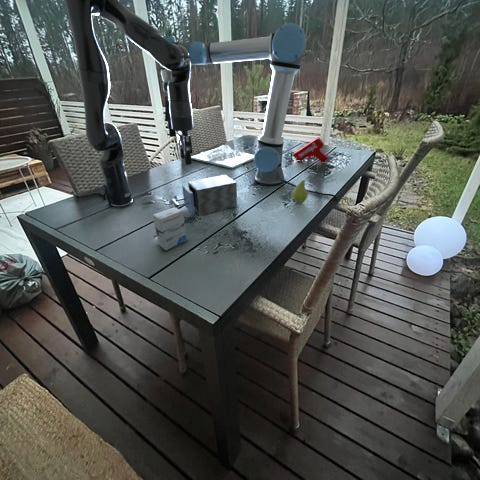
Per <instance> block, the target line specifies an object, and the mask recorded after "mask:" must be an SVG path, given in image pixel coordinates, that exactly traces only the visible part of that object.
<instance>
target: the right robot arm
mask: <svg viewBox="0 0 480 480" xmlns="http://www.w3.org/2000/svg"><path fill="white" fill-rule="evenodd" d="M162 36H163V38H165V39H166V40H167V41H169V42H170V43H172V44H176V45H181V46H183V47H185V48H186V50H187V51H188V53H189V56H190V63H191V66H192V65H193V66H194V65H195V66H206V65H212V64H224V63H234V62H247V61H258V60H270V63H269V66H270V68H271V70H272V74H271V81H270V85H269V86H270V87H269V92H268V99H267V104H266V111H265V116H264V122H263V129H262V134H260V135H259V136H258V138H257V143H256V149H255V152H254V154H253V155H254V159H253V162H254V165H255V167H256V168H257V171H256V174H255V177H254V181H255V183H258V184H259V185H262V186H263V185H264V186H279V185H281V184H283V183H285V184H287V185H290V186H291V187H294V188H296V187H297V186H298V185H296V184H294V183H291V182H289V181H287V180H285V175H284V172H283V171H284V170H283V167H282V165H283V154H284V153H283V152H284V144H285V141H284V139H285V138H284V136H283V132H284V127H285V122H286V118H287V112H288V109H289V103H290V99H291V93H292V89H293V85H294V79H295V76H296V74H297V73H299V71H300V70H301V66H302V61H303V56H304V52H305V49H306V43H307V41H306V40H307V37H306V33H305V30H304V29H303V28H302V26H301V25H299V24H298V23H294V22H286V23H284V24H282V25H281V26H279V27H278V29H277V30H276V31H275V32H271V33H270V34H269V36H262V37H253V38H246V39H236V40H225V41H217V42H207V43H206V42H205V43H204V42H202V41H185V42H184V41H183V42H177V41H176V37H175V36H172V35H171V36H169V35H167V36H165V35H162ZM159 65H160V64H159ZM160 75H161V80H162V81H163V82H162V87H163V88H162V89H163V92H164V93H167V94H166V95H164V102H165V103H164V105H165V106H164V121H165V122H167V125H168V126H167V127H168V132H169V137H171V138H177V132H176V131H175V130H173V129H172V124H171V116H170V106H169V105H170V103H169V94H168V82H169V81H170V80H171V71H170V70H168V69H166V68H164V67H163V66H162V65H160ZM305 189H306V190H307V192H308V193H312V194H317V195H322V196H327V197H333V198H334V199H335V200H337V201H338V200H339V198H338V197H337V196H336V195H335V194H333V193H325V192H320V191H315V190H311V189H307V188H305ZM323 193H324V194H323Z"/></svg>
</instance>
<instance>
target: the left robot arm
mask: <svg viewBox="0 0 480 480" xmlns="http://www.w3.org/2000/svg"><path fill="white" fill-rule="evenodd" d="M64 2H65V8H66V11H67V16H68V18H69V23H70V27H71V28H70V29H71V32H72V37H73V43H74V46H75V47H74V48H75V54H76V61H77V67H78V74H79V80H80V85H81V92H82V101H83V107H84V118H85V119H84V120H85V124H84V125H85V135H86V139H87V142H88V145H90V147H91V148H92V149H93V150H94V151H96V152H102V154H101V156H100V157H99V159H98V164H99V168H100V171H101V174H102V178H103V181H104V184H103V189H104V193H102V192H93V193H89V194H85V195H77V194H76V193H75V191H74V190H71V192H70V193H71V194H72V195H73V196H74V197H75V198H86V197H91V196H96V195H97V196H98V195H101V196H102V197H103V200H107V203H108V206H111V207H113V208H126V207H128V206H130V205H133V203H134V199H133V196H132V191H131V186H130V183H129V179H128V175H127V171H126V167H125V163H124V159H125V154H124V153H125V152H124V148H123V143H122V137H121V134H120V132H119V130H118V128H117V127H116V126H115V124H113V123H110V122H105V109H106V105H107V101H108V98H109V94H110V92H111V91H110V90H111V81H110V72H109V71H110V70H109V65H108V62H107V59H106V57H105V55H104V53H103V50H102V49H101V47H100V44H99V43H98V40H97V38H96V35H95V30H94V23H93V16H98V17H100V18H102V19H105V20H107V22H110V23H112V24H113V25H115V26H116V27H117V28H118V29H119V30H120V31H121V32H122V33H123V34H124V35H125V37H127V38H128V39H129V40H130V41H131V42H132V43H134V44H135V46H138V47H139V48H140V49H142V50H143V51H144V52H146V53H147V54H148V55H150V56H151V58H153V59H154V60H155V61H156V62H157V63H158V64H159V65H162V66H163V67H164V68H166V69H165V70H170V71H171V80H170V81H169V82H168V92H167V95H168V94H169V103H170V105H169V106H170V116H171V124H172V129H173V130H175V131H176V139H177V145H178V148H179V153H180V154H179V155H180V159H184V163H185V165H186V166H190V165H192V164H193V162H192V159H191V157H192V154H193V145H192V136H191V135H189V131H192V130H193V129H194V117H193V107H192V103H191V92H190V80H191V69H192V68H191V67H192V65H191V63H190V56H189V53H188V51H187V50H186V48H185V47H183V46H181V45H176V44H172V43H170V42H169V41H167V40H166V39H165V38H163V36H164V35H163V34H162V33H161V32H160V31H159V30H158V29H157V28H156V27H154V26H153V25H151V24H150V23H149V22H148V21H146V20H144V19H143V18H141V16H138V15H137V14H136V13H134V12H133V11H132V10H130V9H129V8H127V6H125V5H124V4H123V3H121V2H120V1H119V0H64Z"/></svg>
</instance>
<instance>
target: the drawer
mask: <svg viewBox="0 0 480 480" xmlns="http://www.w3.org/2000/svg"><path fill="white" fill-rule="evenodd" d="M181 187H182V197H181V198H176V199H175V198H172V199H171V201H170V202H171V203H172V204H173V206H174V207H175V208H177V209H179V207H181V206H184V207H185V208H186V209H187V211H188V212H189V213H190V214H191V215H196V213H197V212H199V209H198V199H197V191H196V190H195V189H194V188H192V187H191V186H190V185H189V186H186V184H182V185H181ZM179 201H180V202H181V201H183V203H178V202H179ZM195 209H196V210H197V212H196V211H195Z"/></svg>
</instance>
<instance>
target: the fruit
mask: <svg viewBox="0 0 480 480" xmlns="http://www.w3.org/2000/svg"><path fill="white" fill-rule="evenodd" d="M310 177H311V175H310V174H309V175H308V176H307V177H305V179H302V180H301V181H300V182H298V184H297V185H296V186H297V187H294V188H293V190H292V191H291V198H292V200H293V201H294V202H295V203H297V204H301V203H304V202H305V201H306V200H307V198H308V196H309V195H308V193H309V192H307V190H308V189H307V188H306V184H305V183H306V180H308V179H309V178H310ZM306 189H307V190H306Z"/></svg>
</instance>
